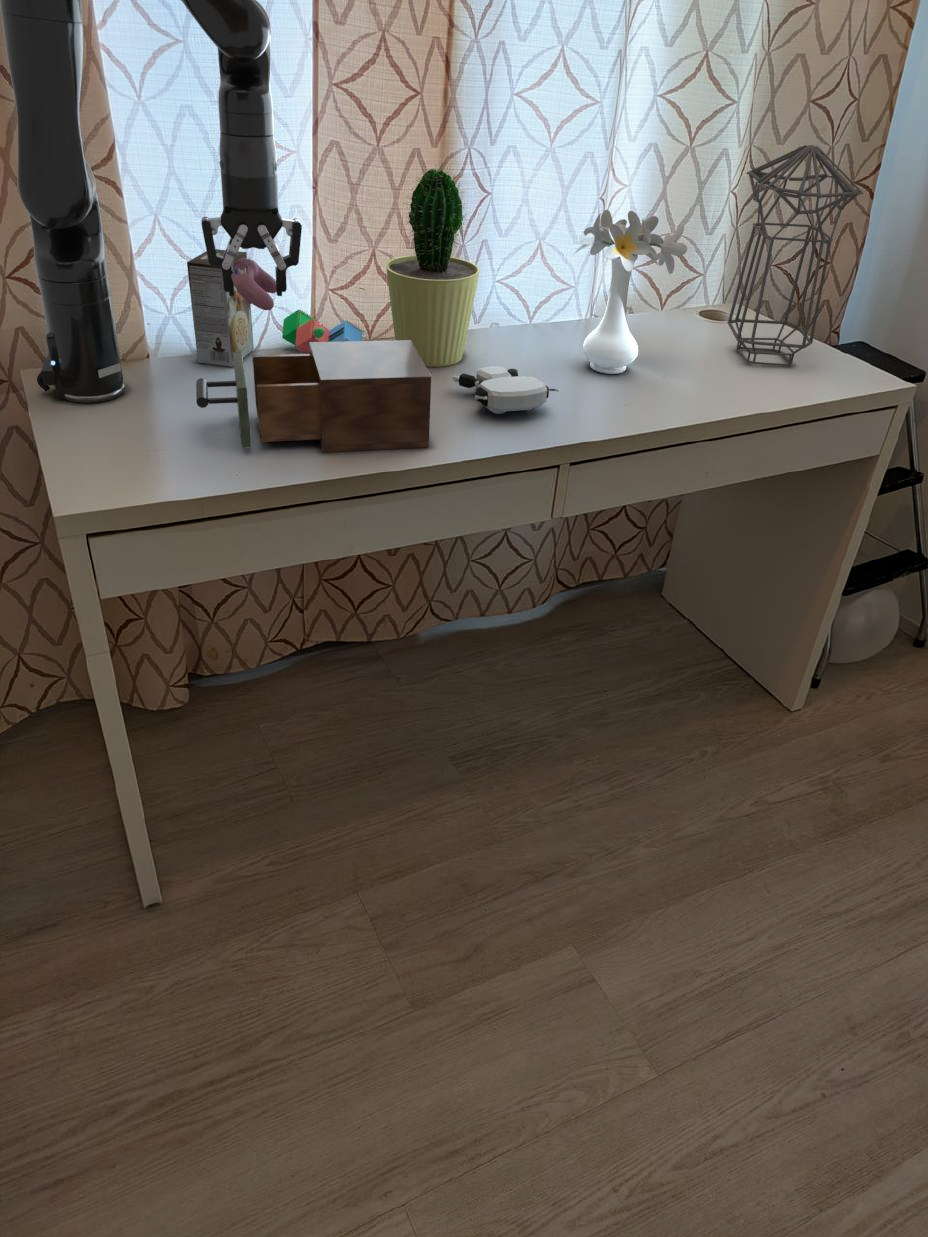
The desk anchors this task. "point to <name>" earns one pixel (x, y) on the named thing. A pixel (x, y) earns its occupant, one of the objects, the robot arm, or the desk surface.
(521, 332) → the desk surface
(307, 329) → the building blocks
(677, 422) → the desk surface
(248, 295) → the video game controller
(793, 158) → the geometric lantern
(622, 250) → the flower vase
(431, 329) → the potted cactus
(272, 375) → the drawer
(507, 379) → the robot toy
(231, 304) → the coffee box
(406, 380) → the cabinet
